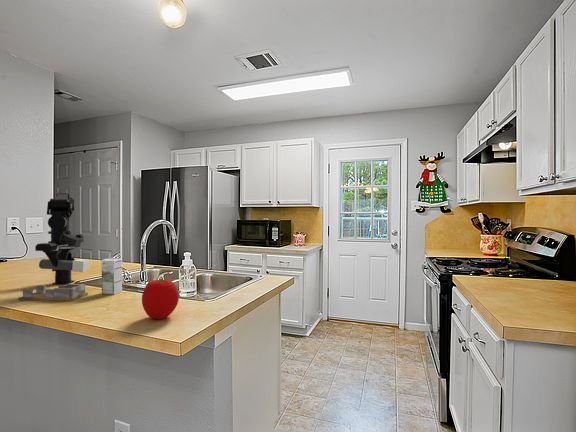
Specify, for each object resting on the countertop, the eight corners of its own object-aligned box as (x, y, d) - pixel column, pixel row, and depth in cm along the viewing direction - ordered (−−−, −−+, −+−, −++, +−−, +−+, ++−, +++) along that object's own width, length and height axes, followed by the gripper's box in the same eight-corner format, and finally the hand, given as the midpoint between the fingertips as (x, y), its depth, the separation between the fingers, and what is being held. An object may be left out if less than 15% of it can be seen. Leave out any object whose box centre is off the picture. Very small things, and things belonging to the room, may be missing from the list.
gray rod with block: (38, 269, 132) (38, 258, 132) (46, 267, 136) (46, 257, 136) (82, 272, 132) (83, 261, 132) (89, 270, 136) (90, 259, 136)
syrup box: (122, 291, 138) (122, 257, 137) (113, 295, 132) (113, 259, 132) (110, 291, 138) (110, 257, 138) (100, 294, 132) (100, 259, 132)
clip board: (37, 294, 132) (37, 283, 132) (87, 294, 132) (87, 284, 131) (18, 300, 123) (18, 288, 123) (72, 300, 123) (72, 289, 122)
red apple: (134, 318, 103) (134, 279, 103) (164, 310, 112) (164, 274, 112) (155, 326, 97) (155, 283, 97) (185, 316, 106) (185, 277, 106)
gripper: (62, 229, 125) (62, 269, 125) (92, 228, 143) (92, 262, 143) (34, 229, 125) (34, 269, 125) (67, 227, 143) (67, 262, 143)
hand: (59, 266), depth 134 cm, fingers closed on gray rod with block, 4 cm apart
